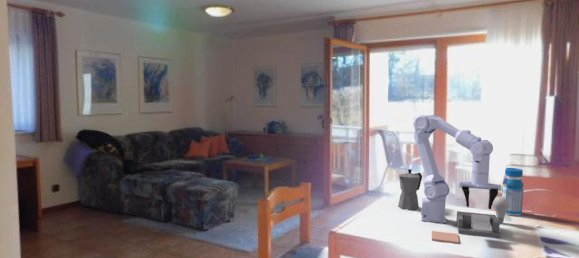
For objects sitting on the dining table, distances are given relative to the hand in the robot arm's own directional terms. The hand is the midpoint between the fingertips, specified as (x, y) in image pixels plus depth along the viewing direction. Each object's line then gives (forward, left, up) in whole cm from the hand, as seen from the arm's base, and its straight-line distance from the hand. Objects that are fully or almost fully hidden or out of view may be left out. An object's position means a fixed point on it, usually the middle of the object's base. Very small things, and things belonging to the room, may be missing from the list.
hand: (478, 207), depth 155 cm
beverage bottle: (+17, +32, -10) cm, 37 cm away
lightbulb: (+10, +15, -10) cm, 20 cm away
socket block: (0, +2, -9) cm, 10 cm away
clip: (0, -10, -4) cm, 11 cm away
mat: (-12, -12, -9) cm, 19 cm away
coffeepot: (-26, +26, -10) cm, 38 cm away
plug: (0, 0, -10) cm, 10 cm away
